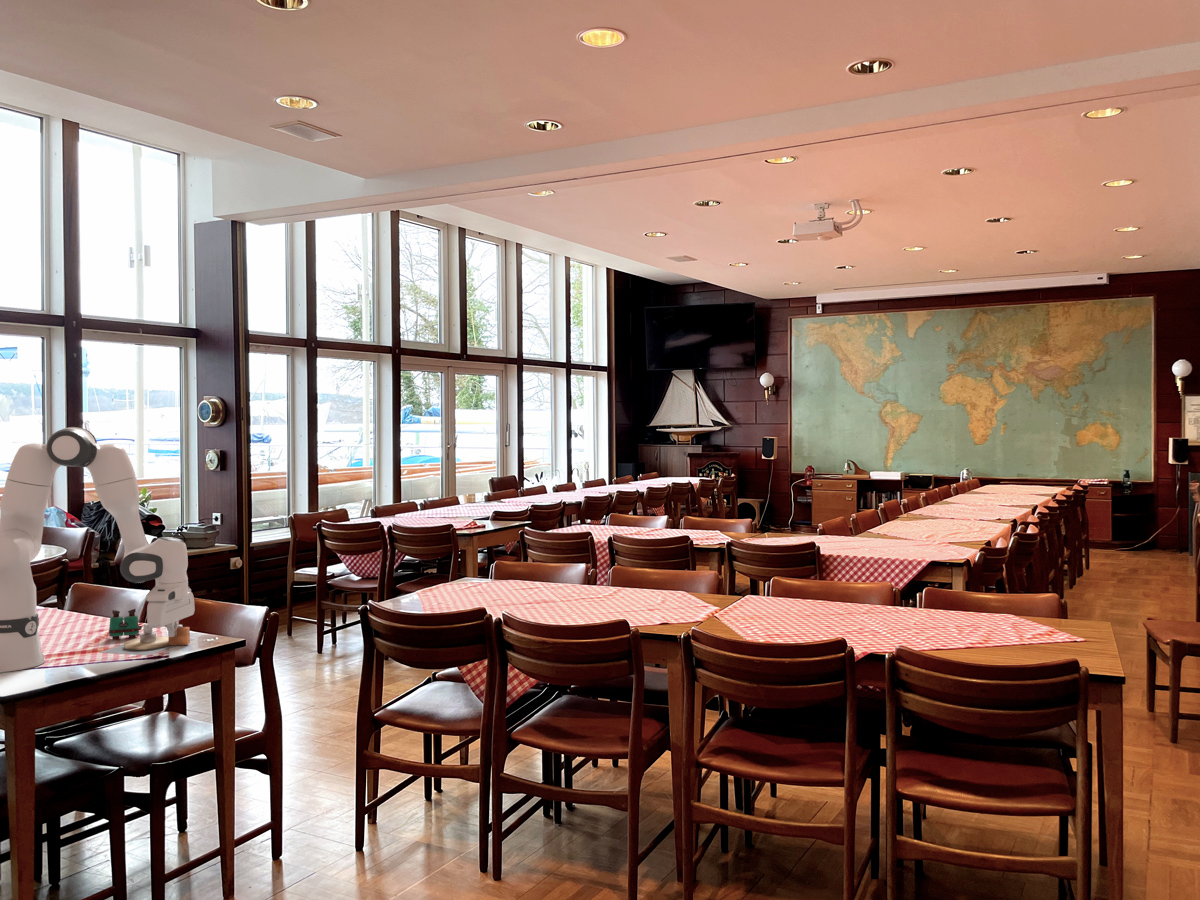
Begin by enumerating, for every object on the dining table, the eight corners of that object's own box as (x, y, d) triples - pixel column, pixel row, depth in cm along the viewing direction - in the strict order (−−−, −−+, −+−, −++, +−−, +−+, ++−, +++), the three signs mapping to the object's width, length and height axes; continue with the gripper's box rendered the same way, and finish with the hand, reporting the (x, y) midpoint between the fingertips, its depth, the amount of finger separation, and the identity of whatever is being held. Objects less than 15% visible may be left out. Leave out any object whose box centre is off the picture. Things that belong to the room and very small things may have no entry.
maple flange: (115, 650, 263) (115, 633, 263) (136, 639, 276) (136, 623, 276) (179, 649, 264) (179, 632, 264) (197, 638, 277) (196, 622, 277)
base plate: (99, 657, 262) (98, 630, 262) (147, 641, 282) (147, 616, 281) (148, 660, 258) (148, 633, 258) (194, 644, 278) (194, 618, 278)
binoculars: (142, 606, 289) (138, 609, 280) (142, 639, 288) (138, 642, 279) (111, 608, 286) (106, 611, 276) (111, 641, 285) (106, 645, 276)
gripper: (180, 584, 279) (180, 628, 279) (142, 596, 258) (143, 644, 259) (199, 584, 278) (200, 628, 279) (163, 597, 258) (163, 644, 258)
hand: (172, 636), depth 268 cm, fingers closed
